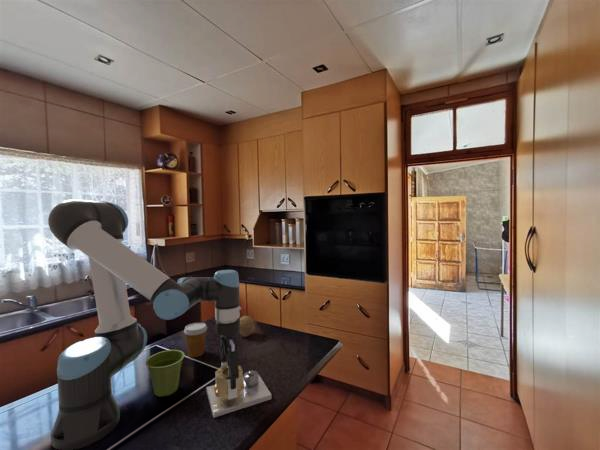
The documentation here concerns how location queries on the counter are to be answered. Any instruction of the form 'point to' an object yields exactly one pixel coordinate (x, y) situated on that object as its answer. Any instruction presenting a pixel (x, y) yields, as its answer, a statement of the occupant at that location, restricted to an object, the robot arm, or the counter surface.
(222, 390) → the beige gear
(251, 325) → the natural sponge
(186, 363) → the counter surface
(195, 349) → the disposable coffee cup
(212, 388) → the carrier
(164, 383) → the plant pot
